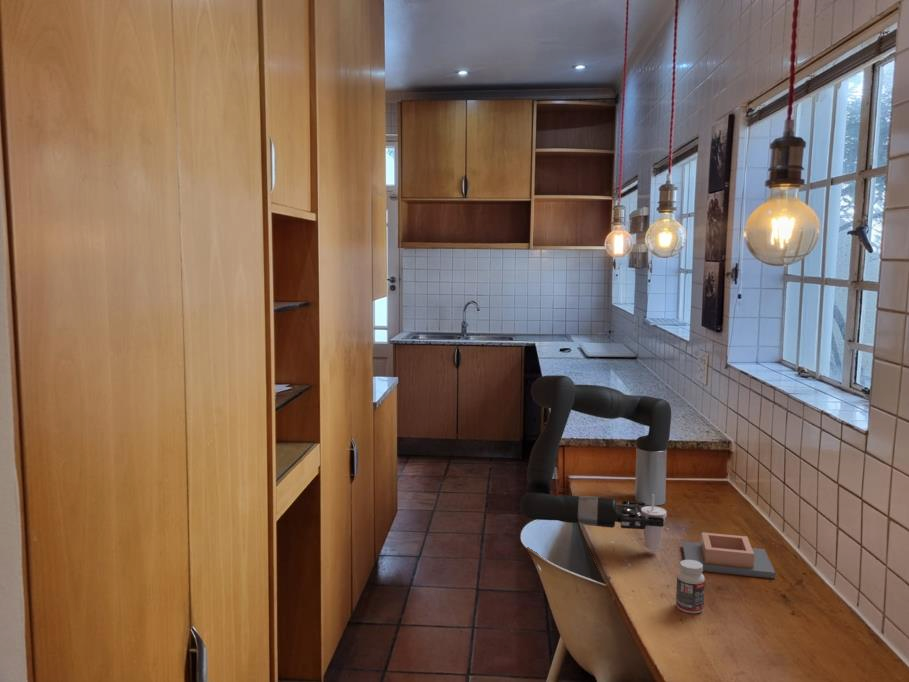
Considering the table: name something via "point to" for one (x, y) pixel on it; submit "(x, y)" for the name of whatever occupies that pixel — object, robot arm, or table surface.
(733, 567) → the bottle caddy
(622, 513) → the robot arm
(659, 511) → the smoothie
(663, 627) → the table surface
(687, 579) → the pill bottle
